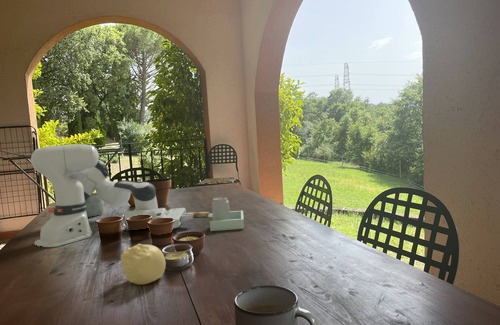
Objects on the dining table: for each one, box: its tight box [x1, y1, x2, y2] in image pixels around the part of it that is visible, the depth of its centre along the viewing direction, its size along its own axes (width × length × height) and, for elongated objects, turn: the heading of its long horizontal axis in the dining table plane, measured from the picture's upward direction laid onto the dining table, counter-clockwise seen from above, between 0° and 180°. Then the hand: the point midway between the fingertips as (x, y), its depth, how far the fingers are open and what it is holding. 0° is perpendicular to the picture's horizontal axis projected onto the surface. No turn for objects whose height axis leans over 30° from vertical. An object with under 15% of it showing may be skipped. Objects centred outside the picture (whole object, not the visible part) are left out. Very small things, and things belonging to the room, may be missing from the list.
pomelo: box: [120, 243, 167, 286], centre depth 114 cm, size 11×12×11 cm
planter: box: [85, 192, 105, 218], centre depth 207 cm, size 12×12×11 cm
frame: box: [209, 210, 245, 232], centre depth 170 cm, size 14×16×4 cm
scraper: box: [187, 211, 213, 219], centre depth 190 cm, size 15×7×2 cm, turn 85°
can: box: [211, 196, 231, 221], centre depth 170 cm, size 8×8×12 cm
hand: (193, 216), depth 171 cm, fingers closed
